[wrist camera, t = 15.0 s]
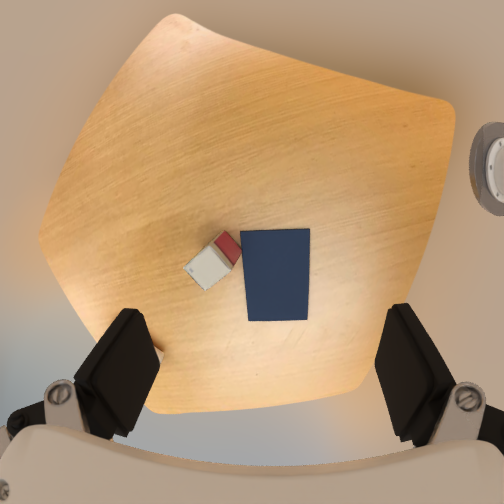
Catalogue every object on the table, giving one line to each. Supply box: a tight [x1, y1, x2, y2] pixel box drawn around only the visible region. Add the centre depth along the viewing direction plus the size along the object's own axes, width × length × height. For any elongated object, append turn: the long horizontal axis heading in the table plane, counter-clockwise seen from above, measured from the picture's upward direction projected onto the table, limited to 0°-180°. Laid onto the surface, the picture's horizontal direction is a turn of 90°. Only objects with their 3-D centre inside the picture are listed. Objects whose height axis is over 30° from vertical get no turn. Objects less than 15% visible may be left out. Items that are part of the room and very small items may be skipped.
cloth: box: [240, 229, 310, 321], centre depth 43 cm, size 10×16×1 cm, turn 4°
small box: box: [183, 231, 242, 291], centre depth 38 cm, size 5×4×8 cm
